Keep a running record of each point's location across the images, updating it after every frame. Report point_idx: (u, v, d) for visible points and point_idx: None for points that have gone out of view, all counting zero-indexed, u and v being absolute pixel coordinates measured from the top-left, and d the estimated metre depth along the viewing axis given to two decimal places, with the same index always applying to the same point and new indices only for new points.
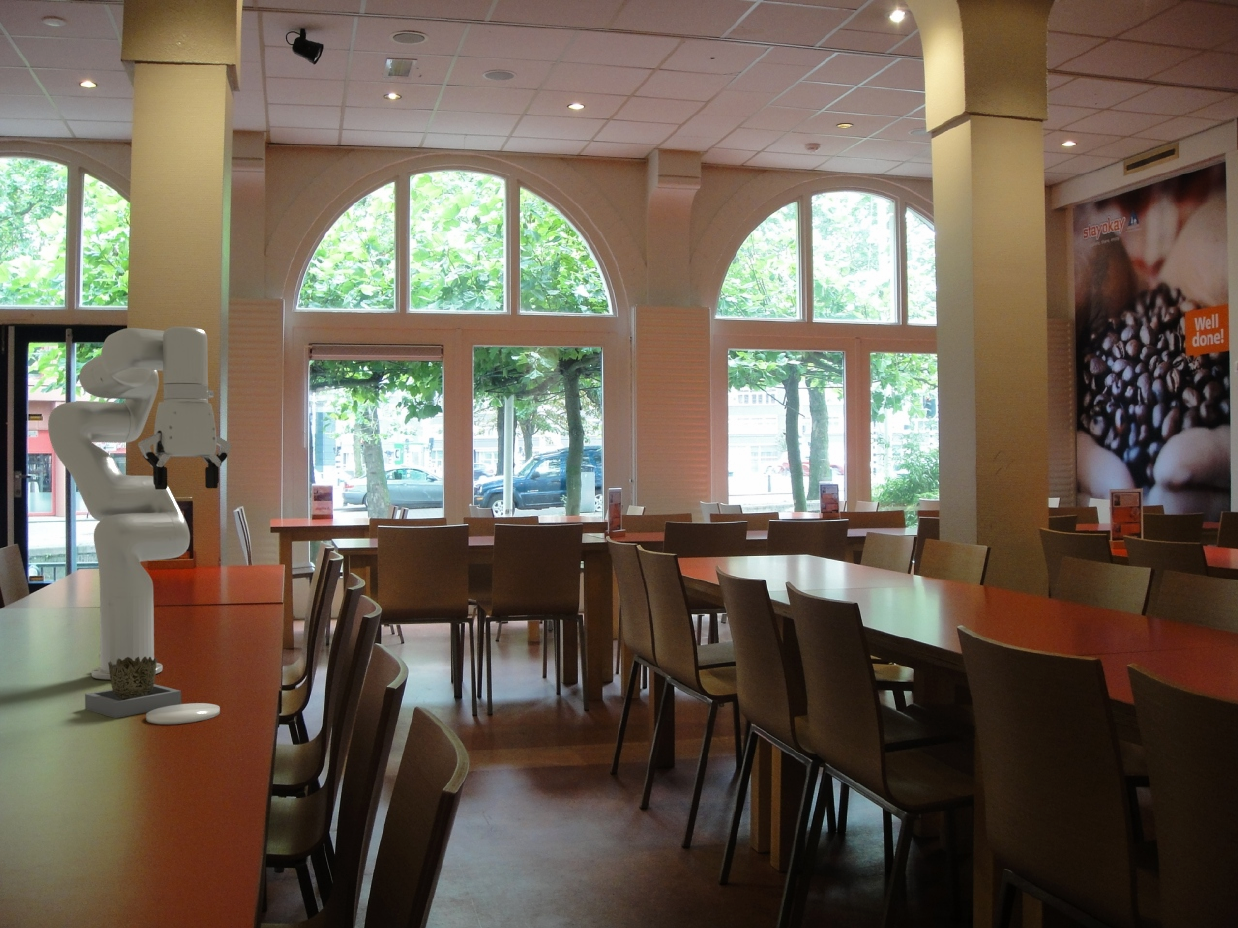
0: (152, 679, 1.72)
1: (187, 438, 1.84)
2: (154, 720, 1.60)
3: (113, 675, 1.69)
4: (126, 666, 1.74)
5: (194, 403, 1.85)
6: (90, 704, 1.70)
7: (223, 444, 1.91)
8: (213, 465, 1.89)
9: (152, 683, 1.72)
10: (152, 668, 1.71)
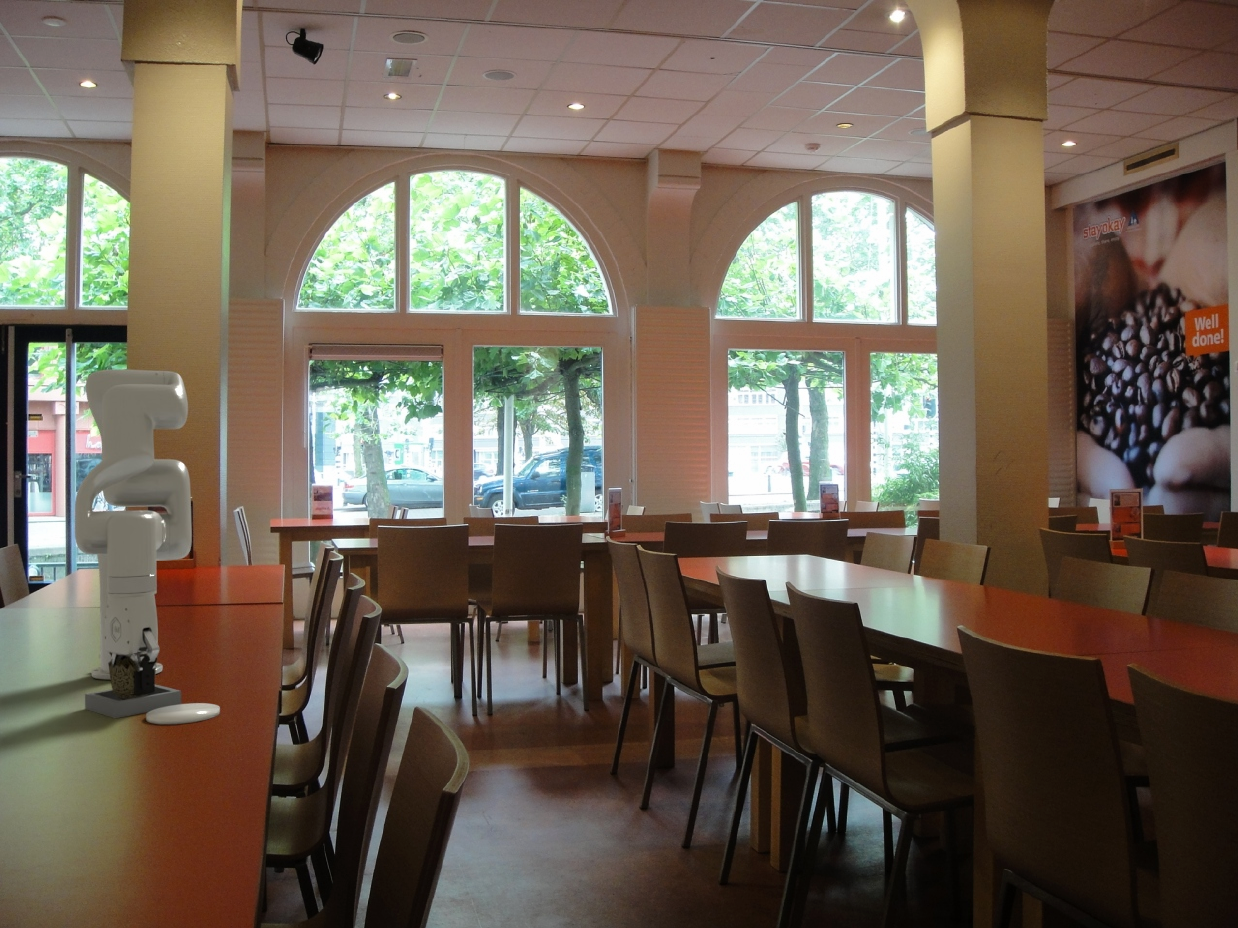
0: None
1: None
2: (154, 720, 1.60)
3: (113, 675, 1.69)
4: (126, 666, 1.74)
5: None
6: (90, 704, 1.70)
7: None
8: None
9: None
10: None
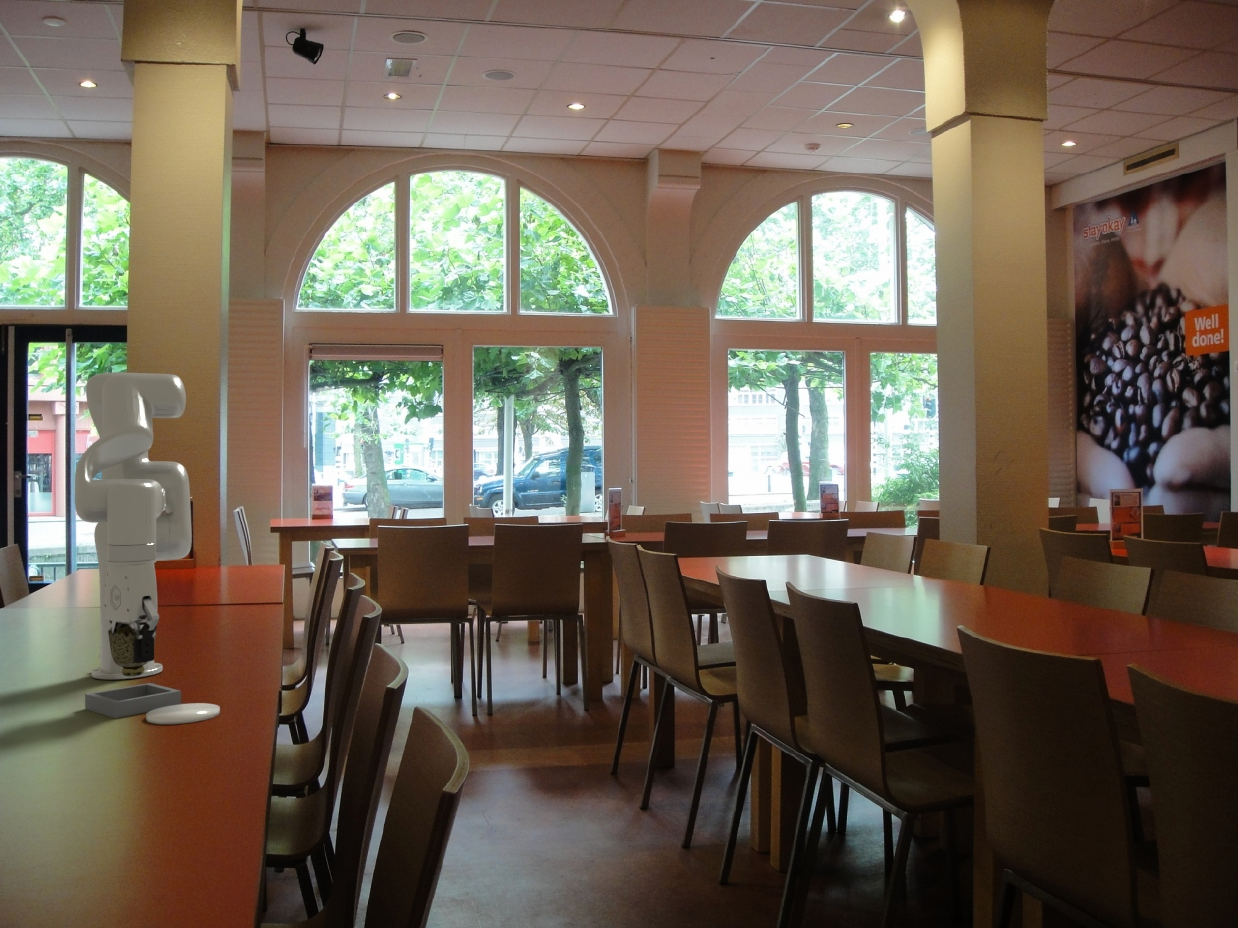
0: None
1: None
2: (154, 720, 1.60)
3: (113, 643, 1.69)
4: (126, 634, 1.75)
5: None
6: (90, 704, 1.70)
7: None
8: None
9: None
10: None
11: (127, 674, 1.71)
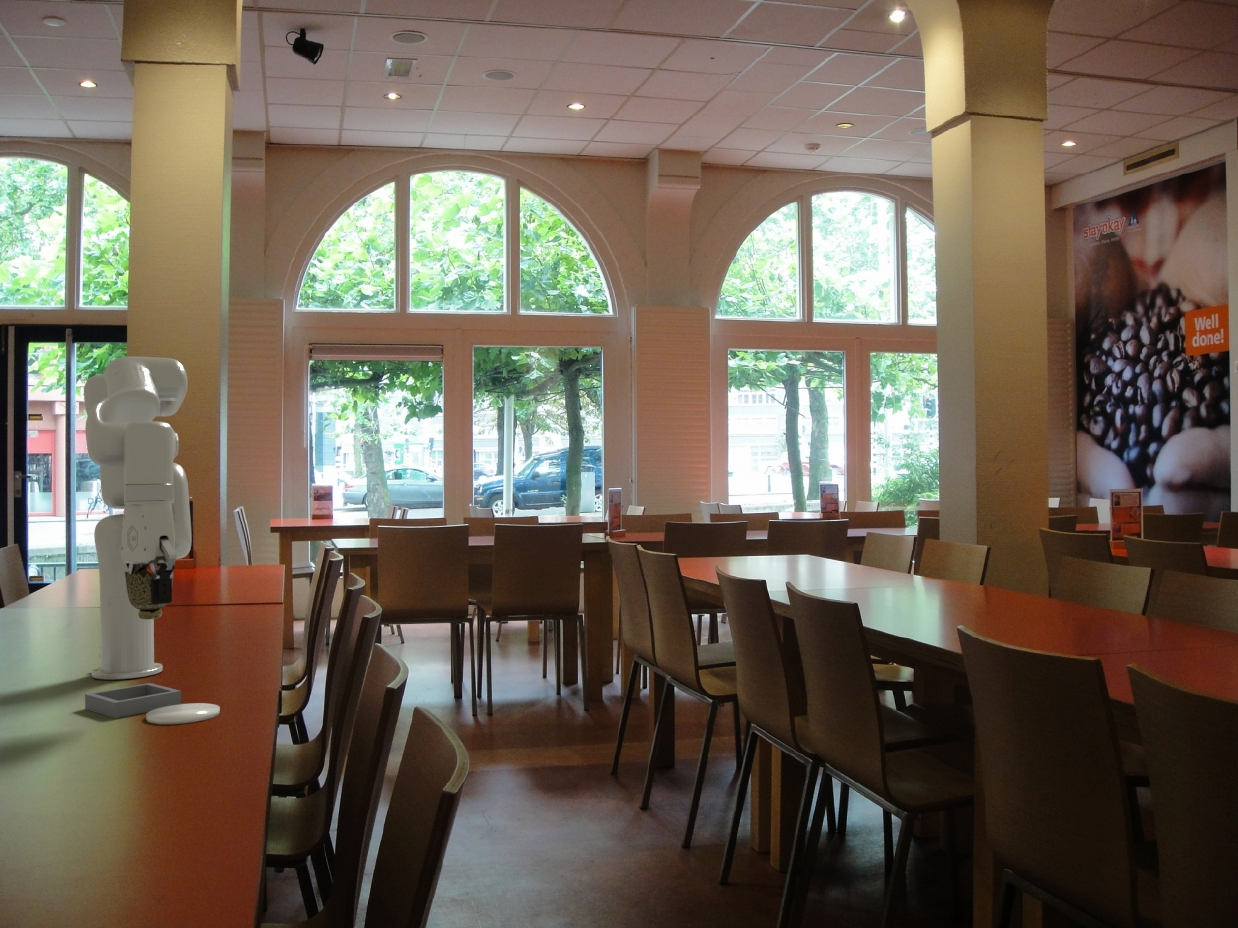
0: None
1: None
2: (154, 720, 1.60)
3: (130, 584, 1.66)
4: None
5: None
6: (90, 704, 1.70)
7: None
8: None
9: None
10: None
11: (144, 617, 1.67)
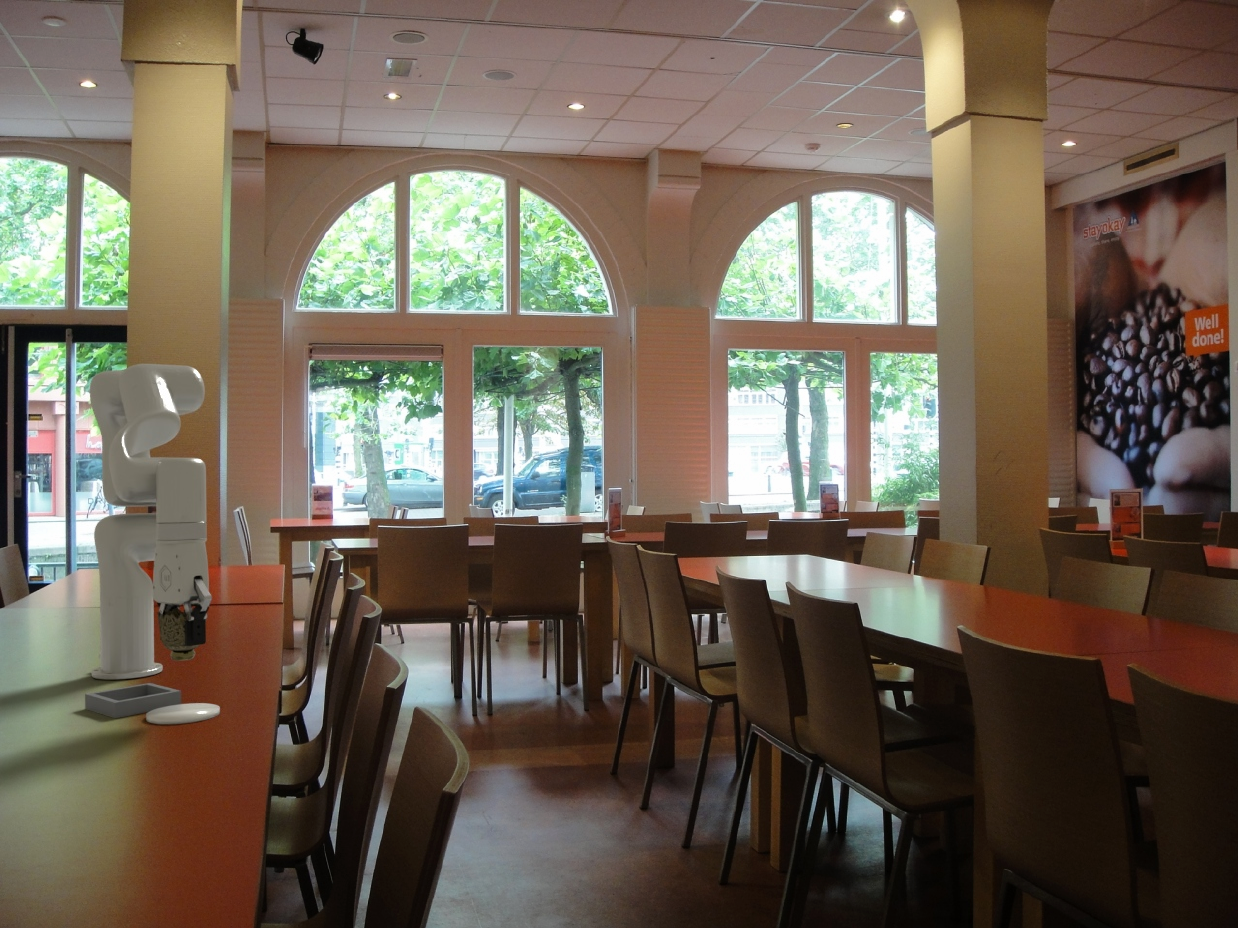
0: None
1: None
2: (154, 720, 1.60)
3: (163, 625, 1.62)
4: None
5: None
6: (90, 704, 1.70)
7: None
8: None
9: None
10: None
11: (177, 658, 1.63)
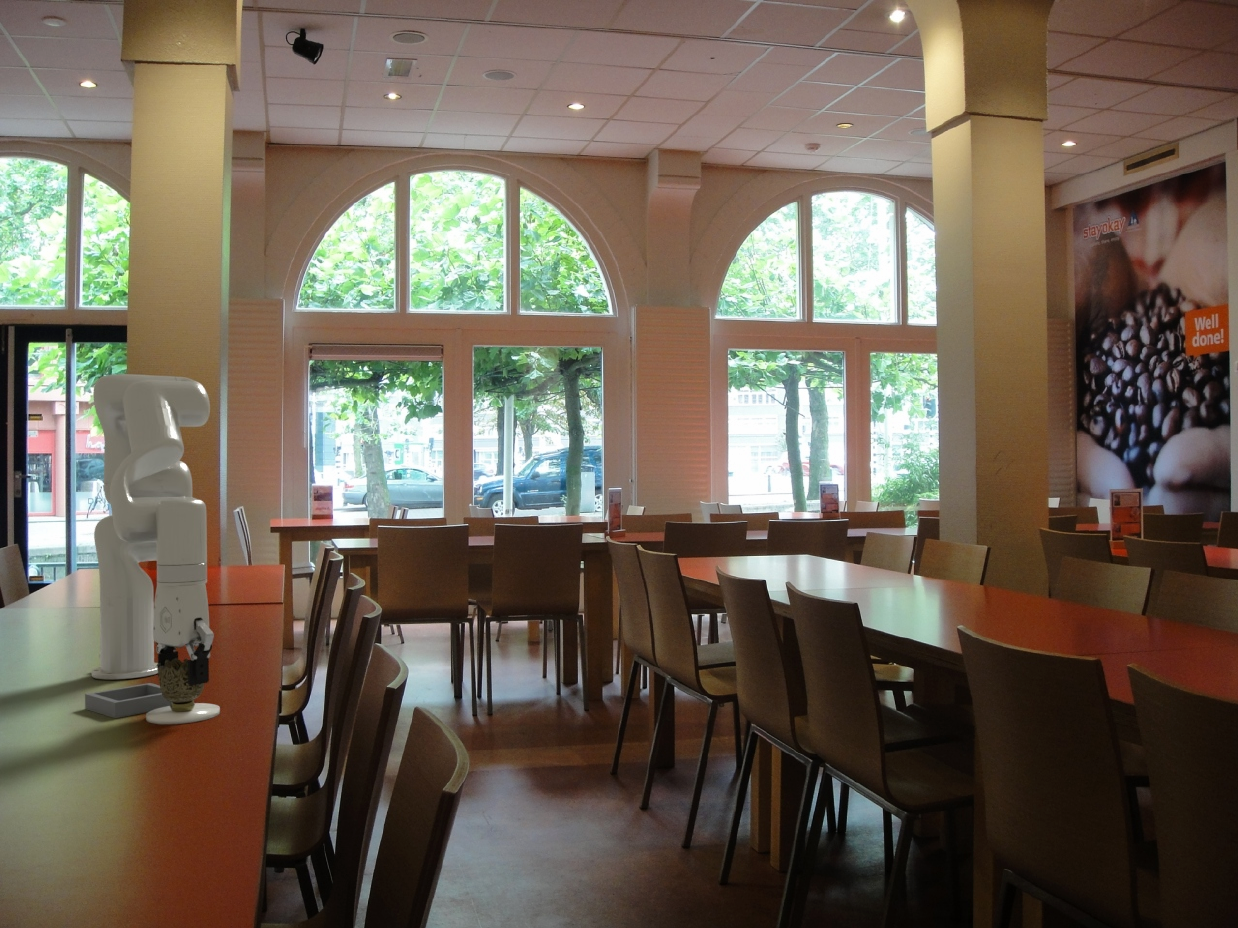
0: None
1: None
2: (154, 720, 1.60)
3: (162, 677, 1.62)
4: (174, 668, 1.68)
5: None
6: (90, 704, 1.70)
7: None
8: None
9: (202, 685, 1.65)
10: None
11: (177, 710, 1.64)
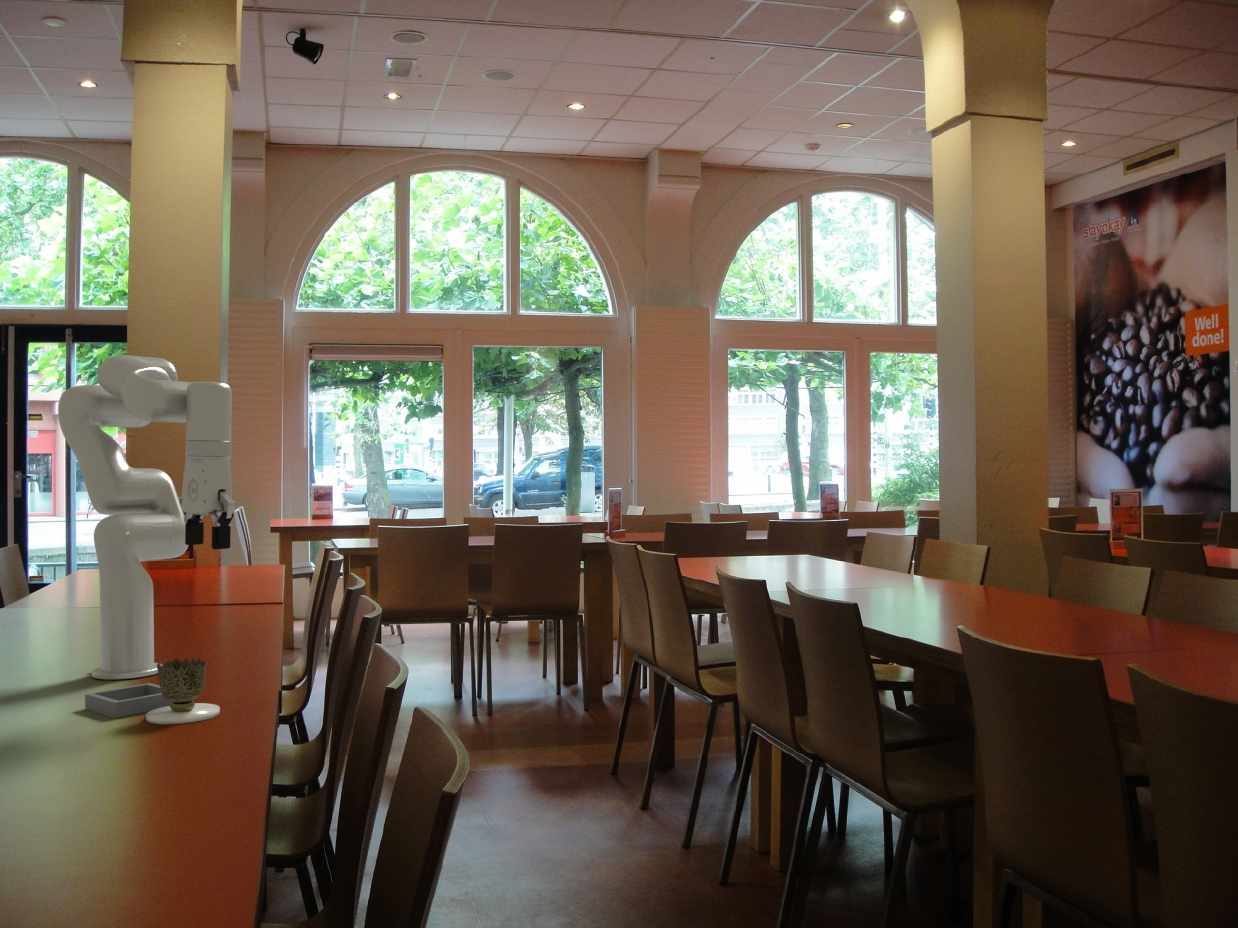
0: (202, 681, 1.65)
1: None
2: (154, 720, 1.60)
3: (162, 677, 1.62)
4: (174, 668, 1.68)
5: None
6: (90, 704, 1.70)
7: None
8: None
9: (202, 685, 1.65)
10: (202, 670, 1.65)
11: (177, 710, 1.64)
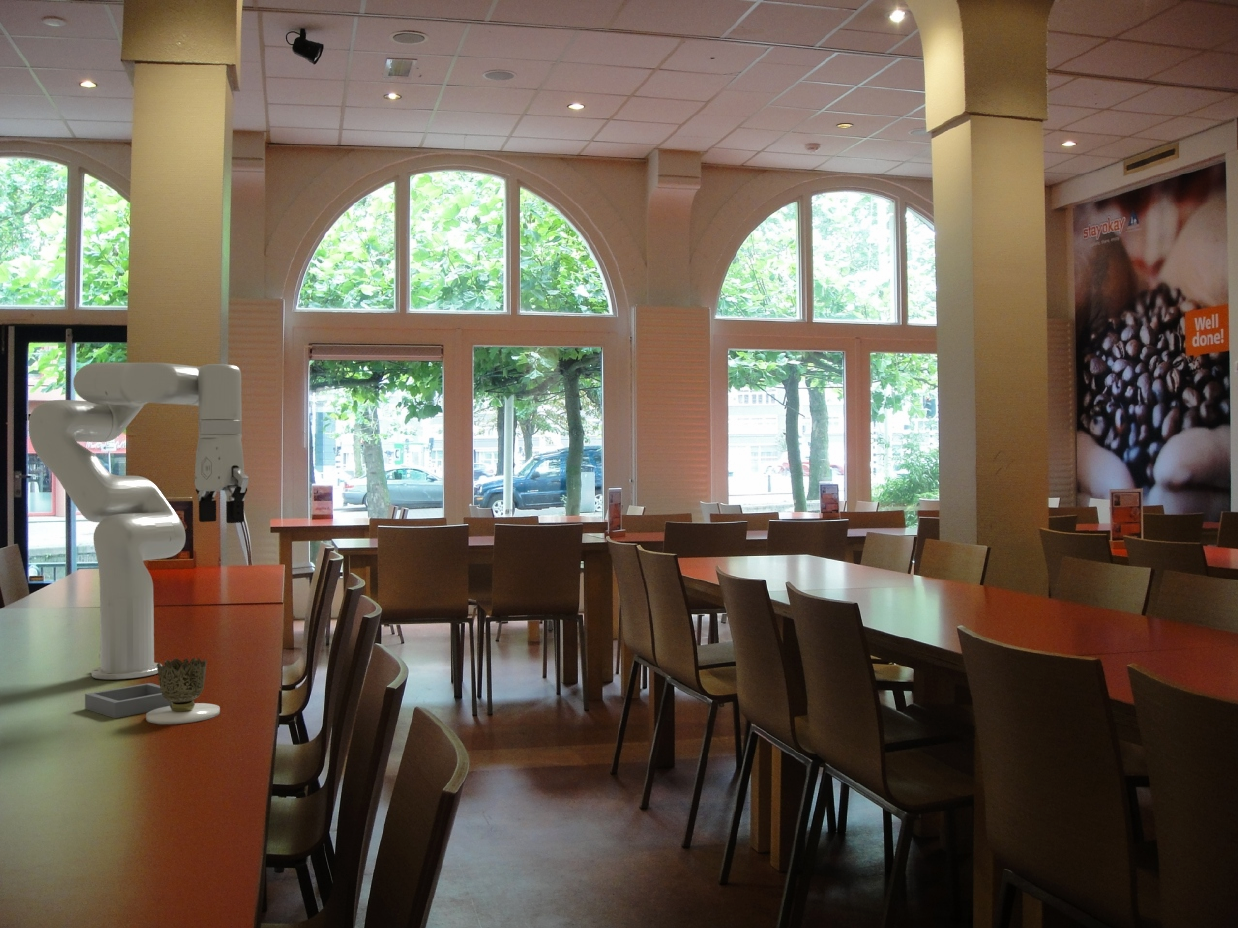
0: (202, 681, 1.65)
1: None
2: (154, 720, 1.60)
3: (162, 677, 1.62)
4: (174, 668, 1.68)
5: None
6: (90, 704, 1.70)
7: None
8: None
9: (202, 685, 1.65)
10: (202, 670, 1.65)
11: (177, 710, 1.64)
